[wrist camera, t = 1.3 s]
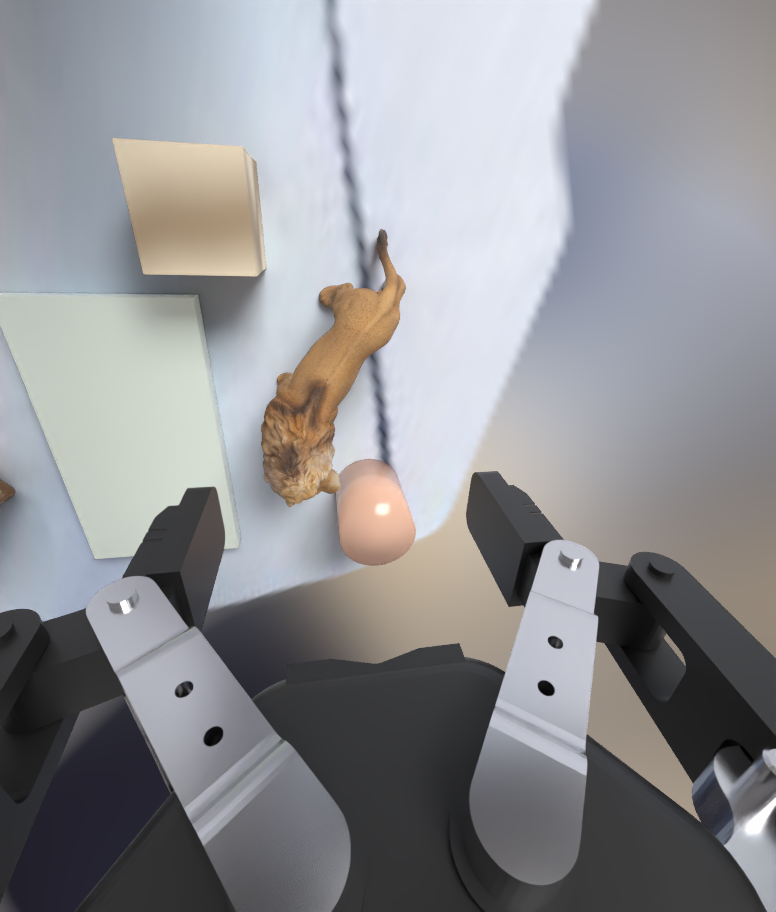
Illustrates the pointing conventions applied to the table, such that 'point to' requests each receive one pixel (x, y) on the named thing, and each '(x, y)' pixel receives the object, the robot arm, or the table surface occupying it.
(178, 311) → the sage board
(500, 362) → the table surface
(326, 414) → the lion figurine
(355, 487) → the peach rounded cylinder
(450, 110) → the table surface
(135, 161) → the birch block
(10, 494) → the tin
